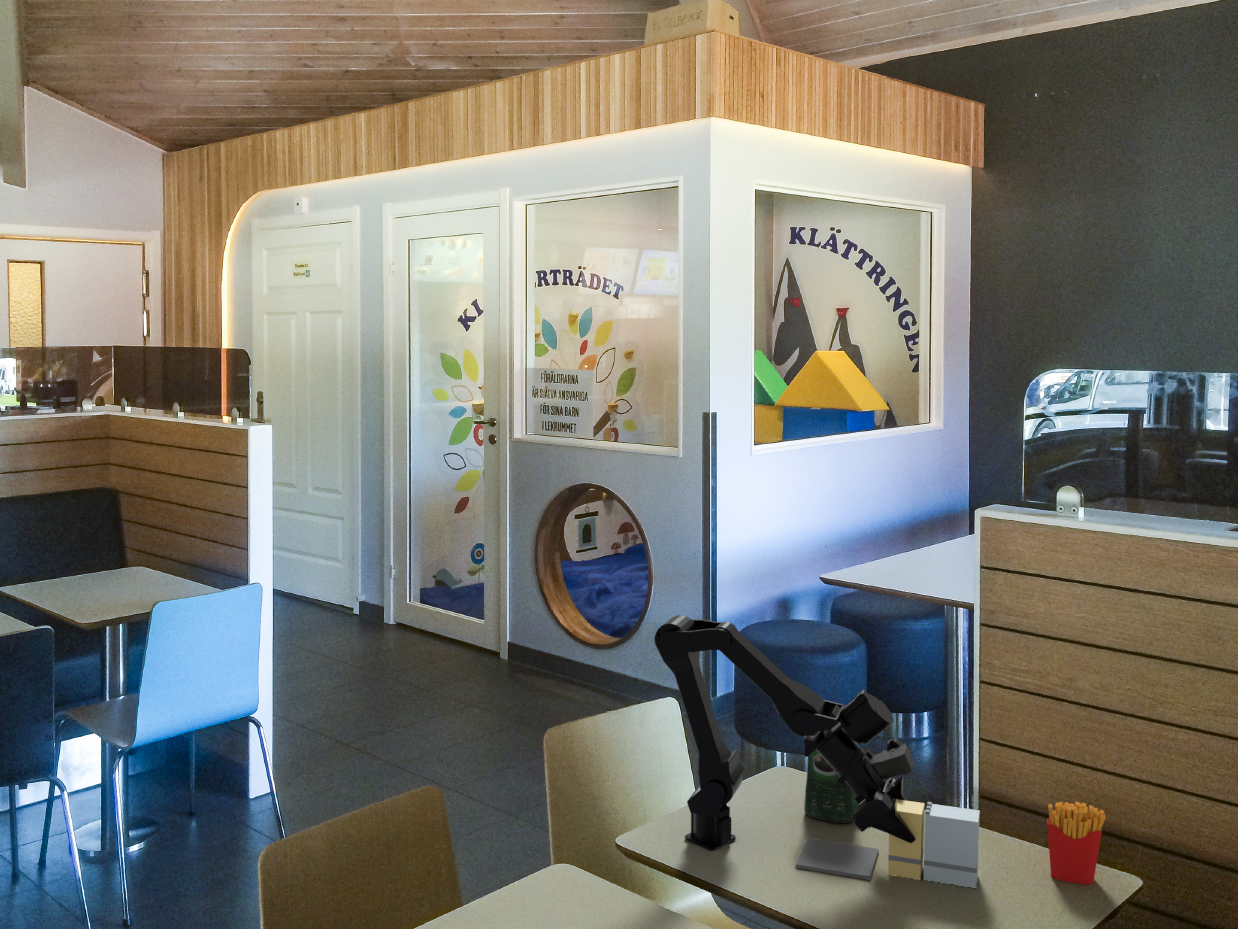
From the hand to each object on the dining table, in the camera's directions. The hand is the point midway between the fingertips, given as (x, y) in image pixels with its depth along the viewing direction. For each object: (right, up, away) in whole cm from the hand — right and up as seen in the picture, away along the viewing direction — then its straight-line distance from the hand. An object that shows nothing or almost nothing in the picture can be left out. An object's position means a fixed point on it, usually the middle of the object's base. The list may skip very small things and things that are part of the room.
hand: (915, 833), depth 179 cm
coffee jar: (-9, -4, +23) cm, 25 cm away
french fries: (+25, -7, -1) cm, 26 cm away
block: (-1, -7, +1) cm, 7 cm away
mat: (-12, -6, +5) cm, 14 cm away
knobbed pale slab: (+5, -7, -1) cm, 9 cm away
